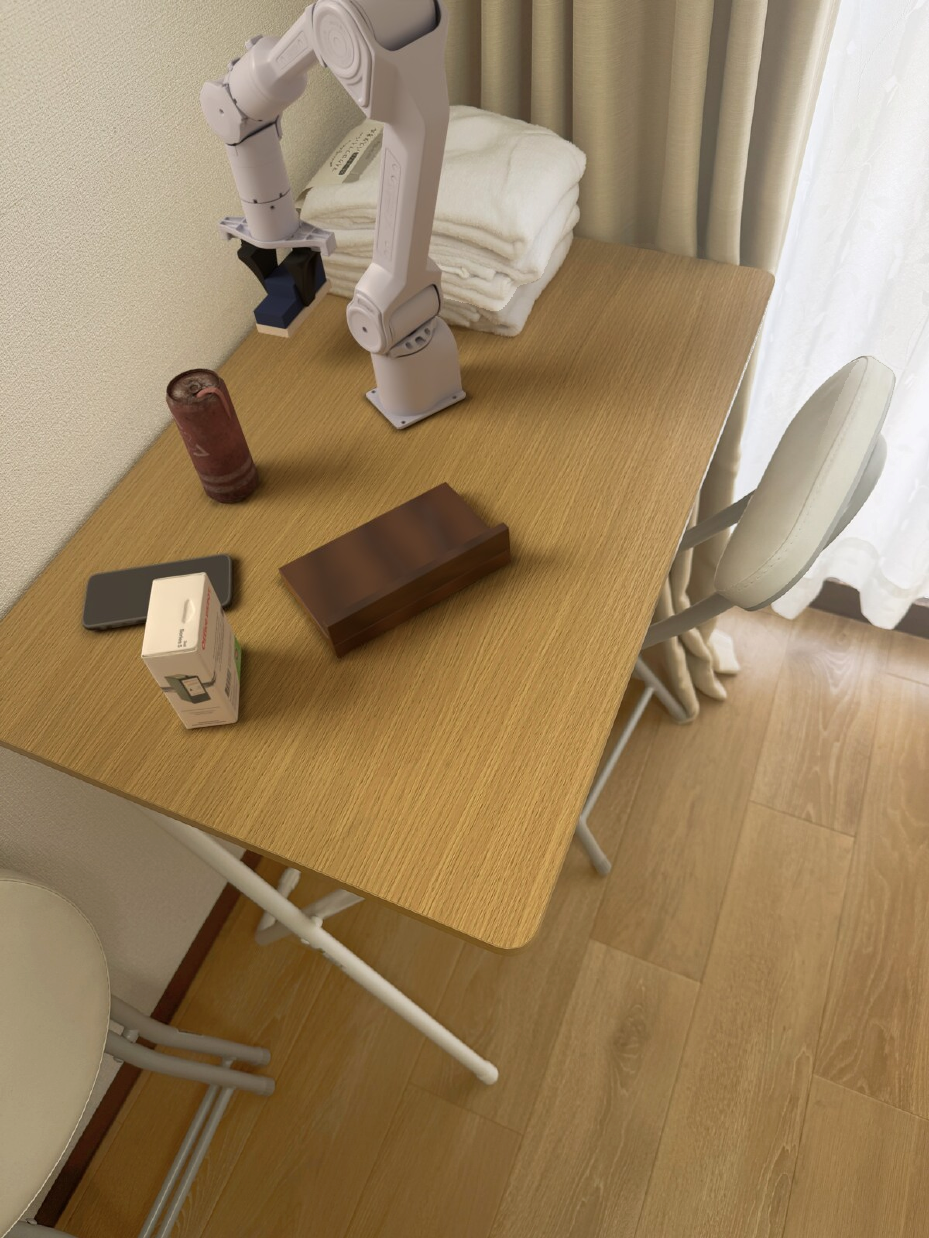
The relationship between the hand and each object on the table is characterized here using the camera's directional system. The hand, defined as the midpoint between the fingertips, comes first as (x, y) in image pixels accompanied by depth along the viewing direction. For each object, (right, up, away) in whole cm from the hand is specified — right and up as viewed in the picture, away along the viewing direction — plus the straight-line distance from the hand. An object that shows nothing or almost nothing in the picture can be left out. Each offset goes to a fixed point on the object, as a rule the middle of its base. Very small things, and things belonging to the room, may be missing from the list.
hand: (293, 299), depth 112 cm
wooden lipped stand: (+14, -34, -19) cm, 42 cm away
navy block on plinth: (0, -1, +1) cm, 1 cm away
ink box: (-2, -46, -26) cm, 53 cm away
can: (-5, -24, -9) cm, 27 cm away
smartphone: (-10, -37, -18) cm, 42 cm away
